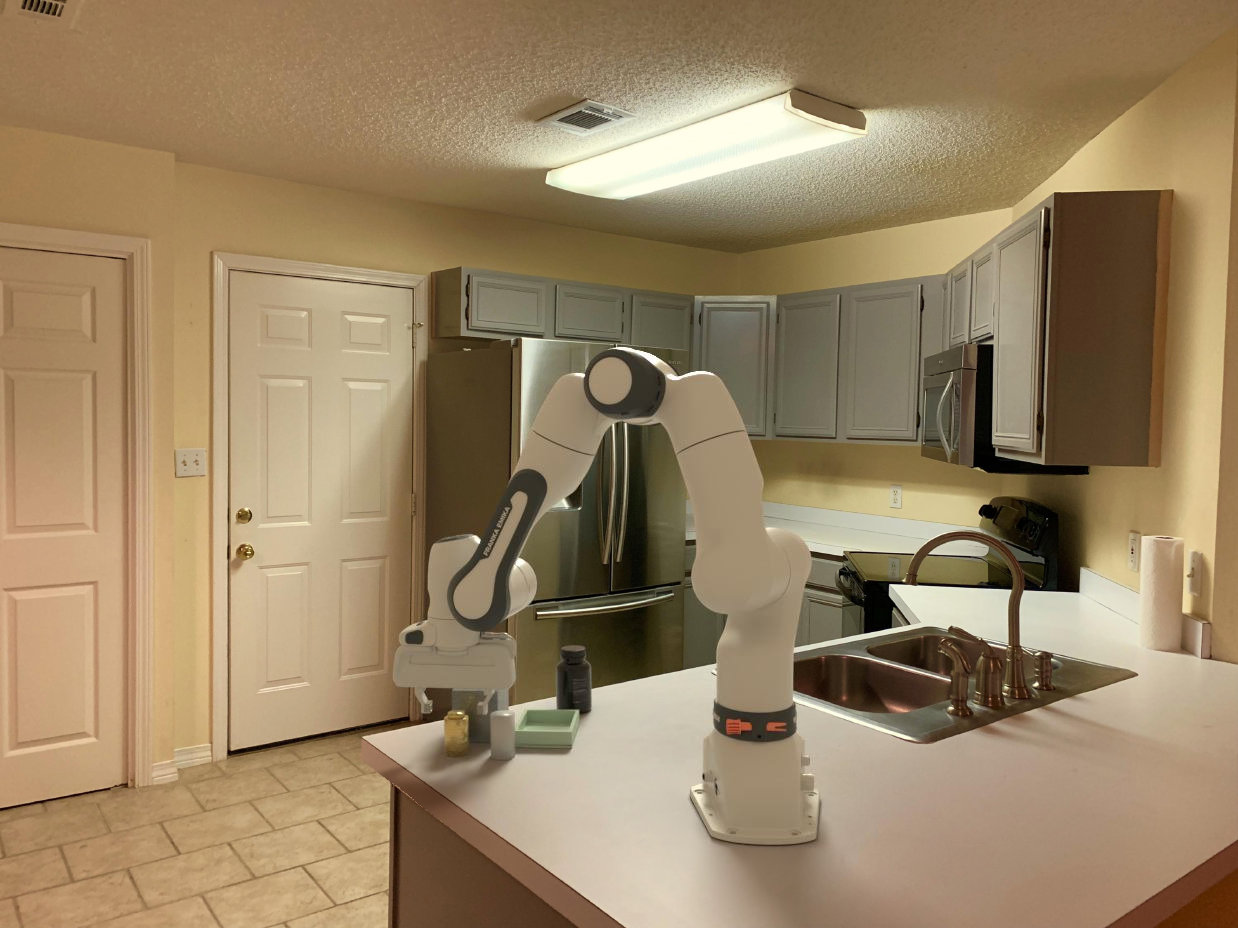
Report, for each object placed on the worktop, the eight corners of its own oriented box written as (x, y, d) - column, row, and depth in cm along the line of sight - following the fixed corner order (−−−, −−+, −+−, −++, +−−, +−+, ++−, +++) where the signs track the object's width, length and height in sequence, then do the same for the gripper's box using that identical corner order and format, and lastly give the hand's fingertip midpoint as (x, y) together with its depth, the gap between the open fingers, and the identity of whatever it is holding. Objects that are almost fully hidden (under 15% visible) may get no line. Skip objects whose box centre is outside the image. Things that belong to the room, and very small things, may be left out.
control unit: (498, 742, 155) (497, 685, 155) (452, 741, 156) (451, 684, 155) (509, 722, 166) (508, 669, 165) (466, 722, 166) (465, 668, 166)
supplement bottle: (593, 704, 177) (593, 643, 176) (589, 715, 170) (588, 652, 169) (559, 703, 177) (558, 643, 177) (553, 714, 170) (552, 651, 170)
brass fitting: (465, 757, 148) (465, 716, 148) (441, 756, 149) (441, 716, 148) (471, 748, 152) (470, 708, 152) (447, 748, 153) (447, 708, 152)
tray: (571, 748, 152) (571, 731, 152) (513, 746, 153) (513, 730, 153) (579, 724, 164) (579, 709, 164) (525, 723, 165) (524, 708, 165)
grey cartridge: (512, 760, 147) (512, 717, 147) (488, 759, 147) (488, 717, 147) (517, 751, 151) (516, 710, 151) (493, 751, 151) (493, 709, 151)
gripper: (519, 628, 153) (519, 708, 153) (401, 625, 154) (401, 705, 155) (513, 637, 146) (512, 721, 147) (389, 634, 148) (389, 717, 148)
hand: (454, 713), depth 151 cm, fingers open, 8 cm apart
